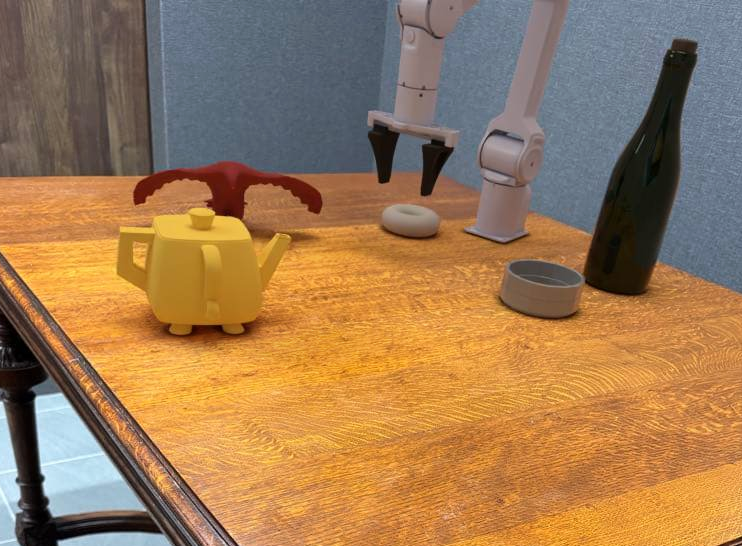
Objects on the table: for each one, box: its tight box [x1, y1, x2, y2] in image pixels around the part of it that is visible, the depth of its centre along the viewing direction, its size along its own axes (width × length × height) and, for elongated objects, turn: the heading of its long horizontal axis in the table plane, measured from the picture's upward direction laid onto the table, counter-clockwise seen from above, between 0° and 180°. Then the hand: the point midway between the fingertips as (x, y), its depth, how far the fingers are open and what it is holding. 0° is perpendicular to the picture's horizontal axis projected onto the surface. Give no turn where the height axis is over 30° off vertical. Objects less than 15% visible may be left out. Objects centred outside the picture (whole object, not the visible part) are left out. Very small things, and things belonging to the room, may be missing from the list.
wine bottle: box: [581, 37, 699, 295], centre depth 117 cm, size 10×10×33 cm
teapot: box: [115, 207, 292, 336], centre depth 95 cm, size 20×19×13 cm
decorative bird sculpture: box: [132, 160, 324, 221], centre depth 124 cm, size 28×9×15 cm
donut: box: [381, 203, 441, 238], centre depth 136 cm, size 10×4×10 cm
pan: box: [498, 258, 586, 319], centre depth 114 cm, size 11×11×4 cm
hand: (404, 188), depth 121 cm, fingers open, 7 cm apart
